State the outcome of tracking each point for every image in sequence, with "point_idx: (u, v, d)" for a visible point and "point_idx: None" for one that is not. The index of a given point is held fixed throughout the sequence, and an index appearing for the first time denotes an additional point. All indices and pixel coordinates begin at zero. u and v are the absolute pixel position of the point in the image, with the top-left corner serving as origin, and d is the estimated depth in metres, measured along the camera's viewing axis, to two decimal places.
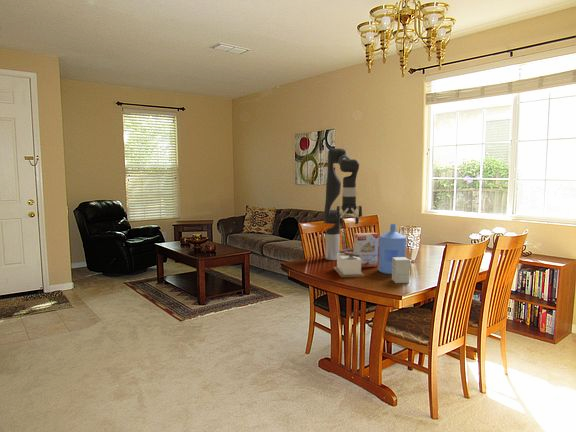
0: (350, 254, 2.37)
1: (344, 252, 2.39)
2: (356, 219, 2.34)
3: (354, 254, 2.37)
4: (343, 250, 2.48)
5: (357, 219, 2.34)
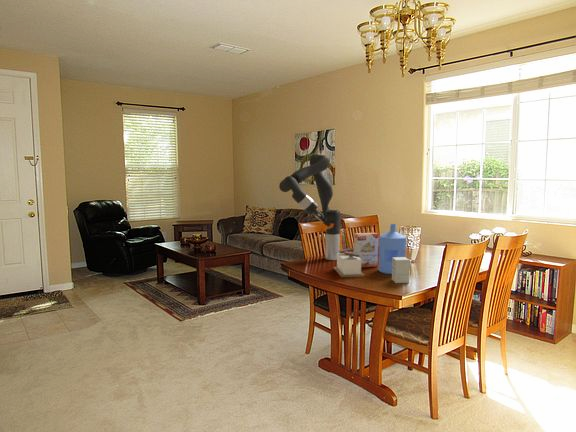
0: (350, 254, 2.37)
1: (344, 252, 2.39)
2: (324, 223, 2.38)
3: (354, 254, 2.37)
4: (343, 250, 2.48)
5: (324, 223, 2.37)
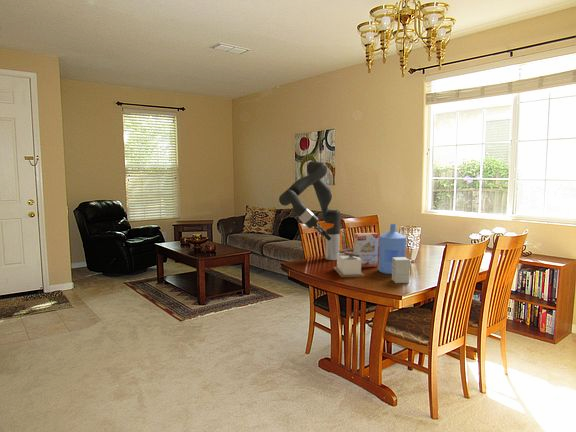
0: (350, 254, 2.37)
1: (344, 252, 2.39)
2: (325, 237, 2.36)
3: (354, 254, 2.37)
4: (343, 250, 2.48)
5: (325, 237, 2.36)
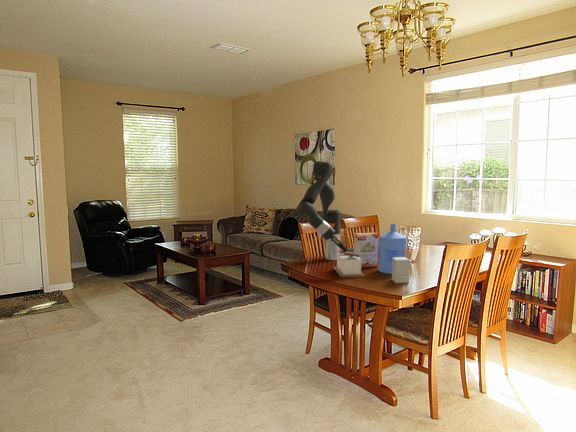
0: (350, 254, 2.37)
1: (344, 252, 2.39)
2: None
3: (354, 254, 2.37)
4: None
5: None
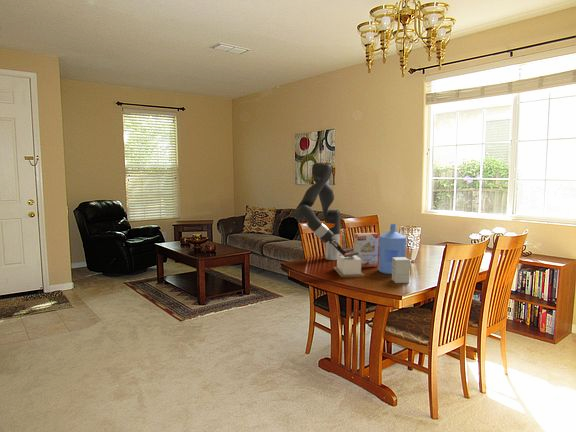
0: (349, 255, 2.37)
1: (343, 255, 2.39)
2: (339, 251, 2.38)
3: (353, 253, 2.37)
4: None
5: (340, 252, 2.37)
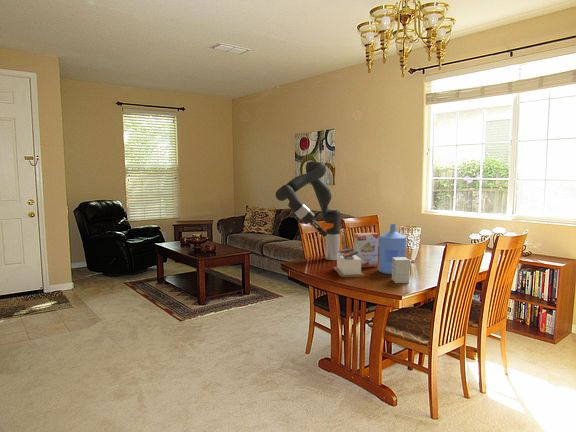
0: (349, 255, 2.37)
1: (343, 256, 2.39)
2: None
3: (352, 253, 2.37)
4: (343, 250, 2.48)
5: (321, 233, 2.36)
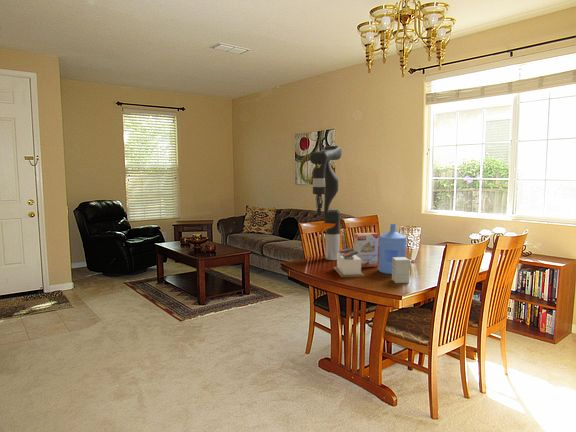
0: (349, 255, 2.37)
1: (343, 256, 2.39)
2: (317, 210, 2.50)
3: (352, 253, 2.37)
4: (343, 250, 2.48)
5: (317, 210, 2.49)
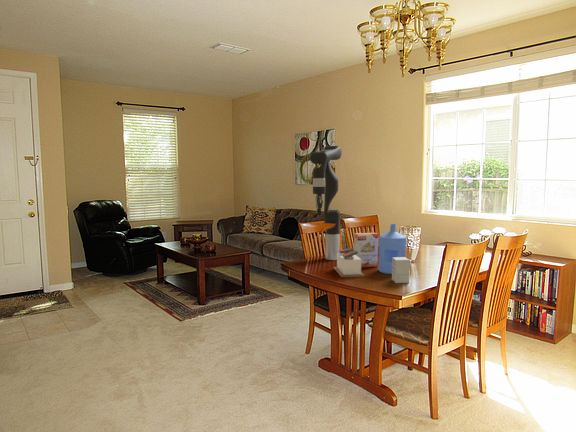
0: (349, 255, 2.37)
1: (343, 256, 2.40)
2: (317, 210, 2.50)
3: (352, 253, 2.37)
4: (343, 250, 2.48)
5: (317, 210, 2.49)
